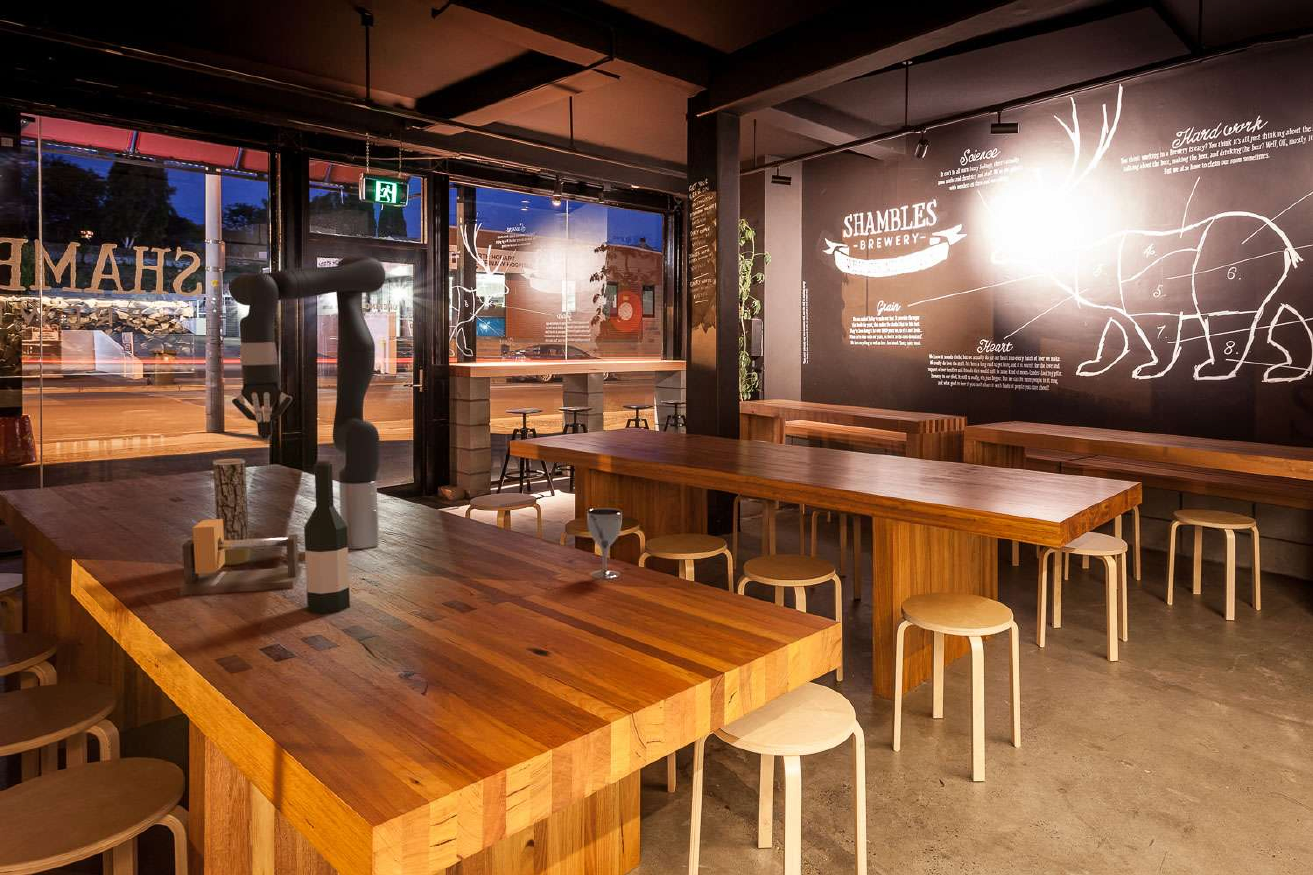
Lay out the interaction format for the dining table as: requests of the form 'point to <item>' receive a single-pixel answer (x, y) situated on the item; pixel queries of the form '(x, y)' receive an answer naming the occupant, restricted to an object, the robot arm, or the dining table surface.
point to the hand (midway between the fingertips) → (265, 437)
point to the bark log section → (232, 505)
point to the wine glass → (604, 535)
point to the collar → (208, 546)
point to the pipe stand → (245, 578)
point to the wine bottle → (326, 549)
